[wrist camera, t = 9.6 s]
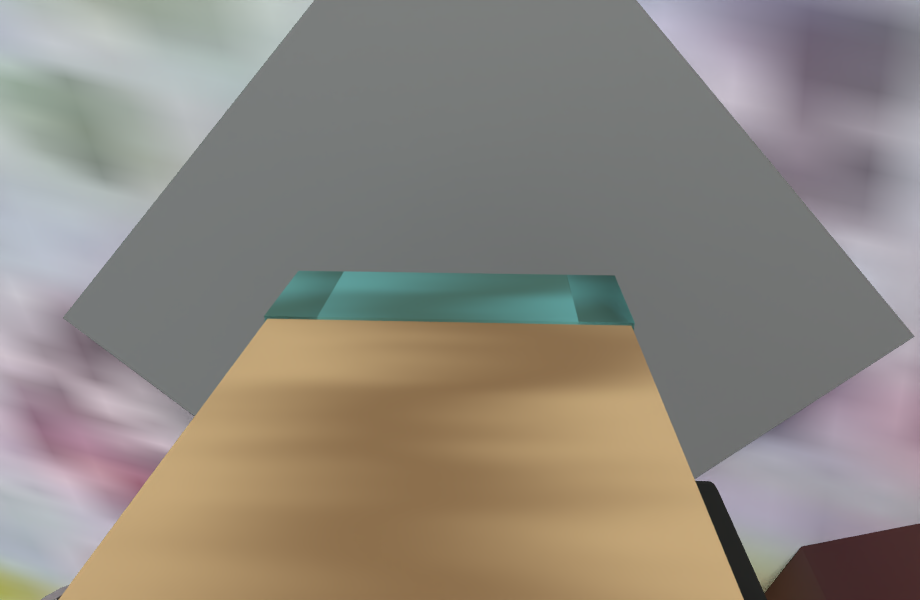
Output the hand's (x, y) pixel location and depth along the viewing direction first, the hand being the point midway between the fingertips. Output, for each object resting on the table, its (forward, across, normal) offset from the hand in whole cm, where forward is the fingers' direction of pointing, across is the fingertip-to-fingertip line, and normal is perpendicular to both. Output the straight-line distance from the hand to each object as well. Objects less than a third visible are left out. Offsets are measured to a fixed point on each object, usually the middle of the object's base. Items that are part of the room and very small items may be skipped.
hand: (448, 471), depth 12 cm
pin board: (+7, 0, 0) cm, 7 cm away
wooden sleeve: (+2, 0, 0) cm, 2 cm away
